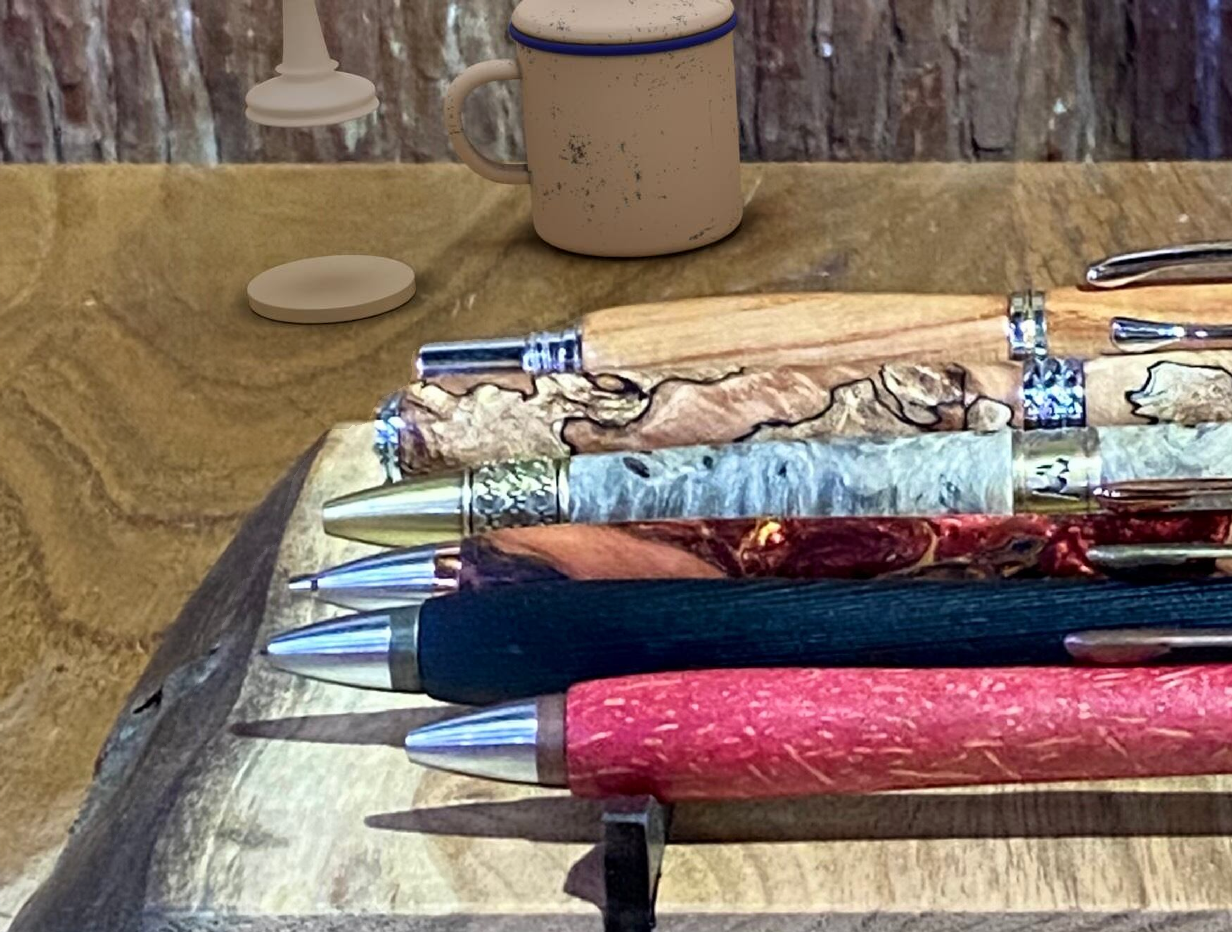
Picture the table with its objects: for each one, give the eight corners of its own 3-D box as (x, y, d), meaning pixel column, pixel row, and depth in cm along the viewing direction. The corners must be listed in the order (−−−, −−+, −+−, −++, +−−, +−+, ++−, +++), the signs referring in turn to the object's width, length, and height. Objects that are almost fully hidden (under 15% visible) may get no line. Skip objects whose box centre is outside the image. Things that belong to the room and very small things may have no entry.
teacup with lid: (727, 185, 116) (711, -91, 111) (768, 249, 108) (752, -45, 103) (448, 212, 114) (417, -69, 108) (468, 279, 106) (437, -20, 100)
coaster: (230, 324, 102) (227, 309, 102) (271, 269, 107) (270, 255, 107) (397, 322, 102) (395, 307, 101) (430, 268, 107) (429, 253, 107)
